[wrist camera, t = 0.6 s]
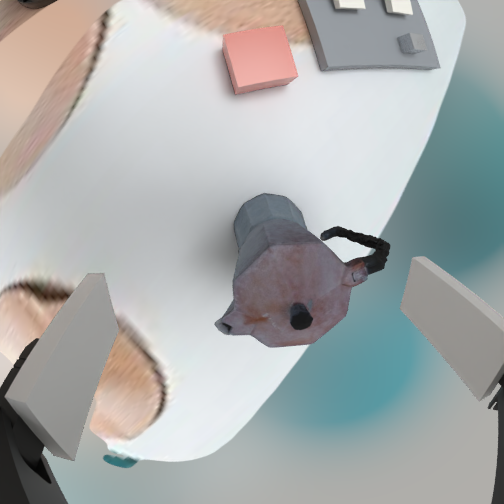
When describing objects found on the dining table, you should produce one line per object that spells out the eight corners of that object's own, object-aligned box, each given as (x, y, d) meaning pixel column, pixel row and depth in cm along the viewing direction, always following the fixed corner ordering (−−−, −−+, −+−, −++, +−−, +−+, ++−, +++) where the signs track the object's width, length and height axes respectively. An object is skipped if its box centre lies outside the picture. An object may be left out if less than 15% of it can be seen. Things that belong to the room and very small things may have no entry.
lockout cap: (222, 48, 27) (223, 34, 23) (274, 39, 27) (282, 25, 23) (235, 94, 30) (238, 87, 25) (287, 84, 30) (298, 76, 25)
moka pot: (198, 222, 35) (179, 315, 17) (307, 163, 34) (401, 195, 16) (235, 281, 39) (253, 398, 20) (335, 227, 38) (425, 304, 19)
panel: (285, -31, 23) (291, -43, 20) (397, -21, 23) (409, -28, 20) (321, 71, 29) (331, 64, 26) (430, 69, 30) (445, 67, 26)
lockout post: (397, 37, 26) (409, 32, 23) (409, 39, 26) (422, 34, 23) (401, 53, 27) (414, 49, 24) (414, 54, 27) (427, 50, 24)
